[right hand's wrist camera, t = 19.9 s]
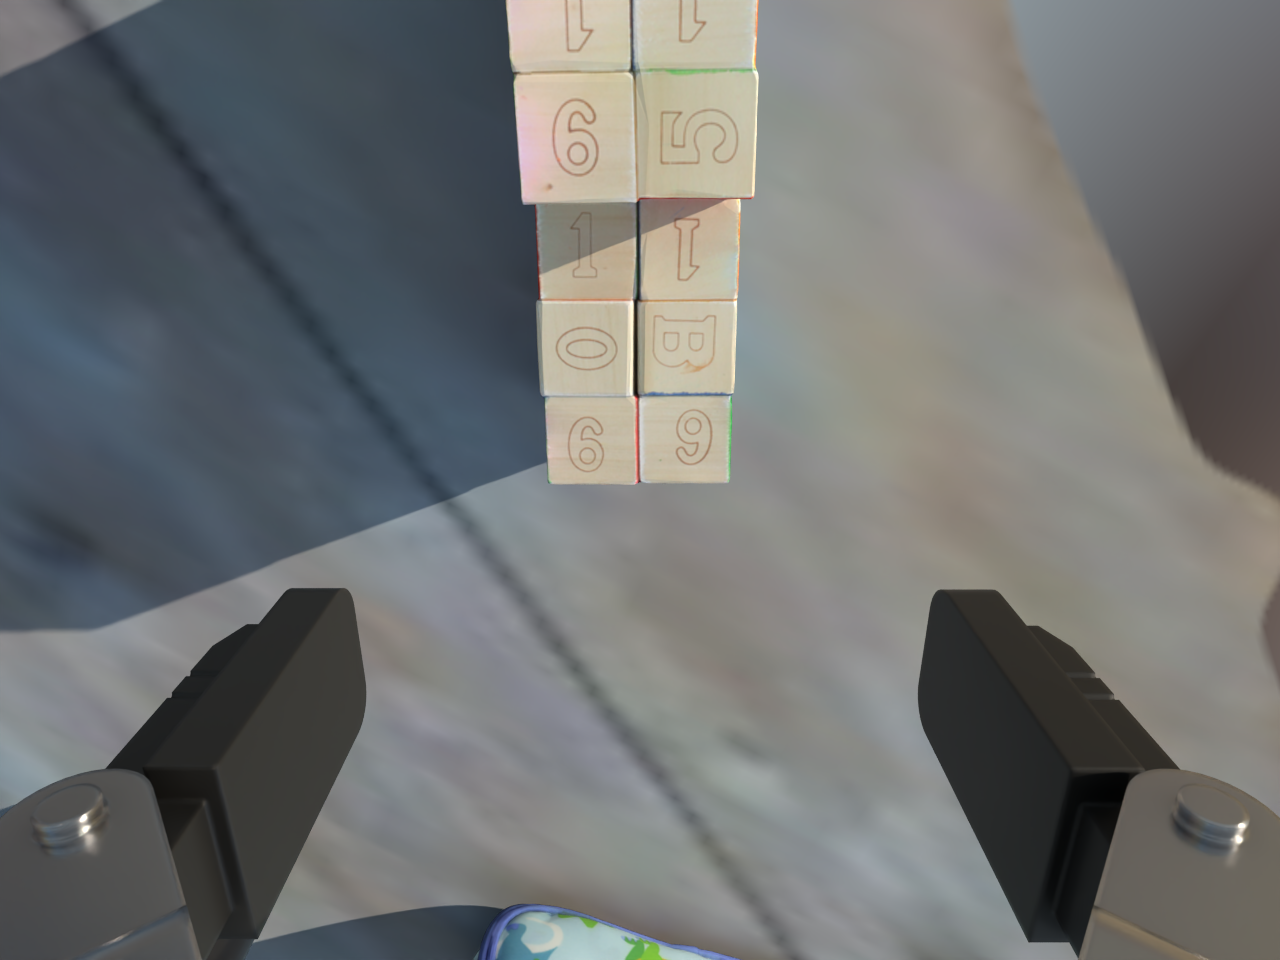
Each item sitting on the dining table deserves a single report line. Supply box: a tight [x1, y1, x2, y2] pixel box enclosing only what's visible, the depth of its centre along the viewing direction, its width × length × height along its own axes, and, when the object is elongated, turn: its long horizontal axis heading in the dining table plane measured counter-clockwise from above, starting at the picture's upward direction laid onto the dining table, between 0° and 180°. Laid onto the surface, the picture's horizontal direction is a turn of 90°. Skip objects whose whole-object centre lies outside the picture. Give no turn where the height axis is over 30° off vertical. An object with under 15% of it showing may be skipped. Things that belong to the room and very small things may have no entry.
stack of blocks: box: [505, 0, 758, 485], centre depth 26 cm, size 21×6×12 cm, turn 0°
